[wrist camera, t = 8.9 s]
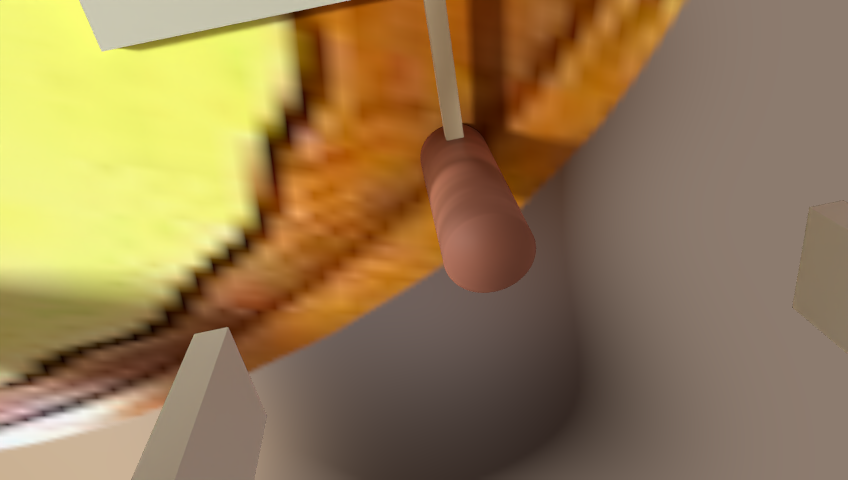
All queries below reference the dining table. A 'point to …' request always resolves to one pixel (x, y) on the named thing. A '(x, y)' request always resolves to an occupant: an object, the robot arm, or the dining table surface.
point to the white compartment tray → (177, 17)
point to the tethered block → (469, 187)
